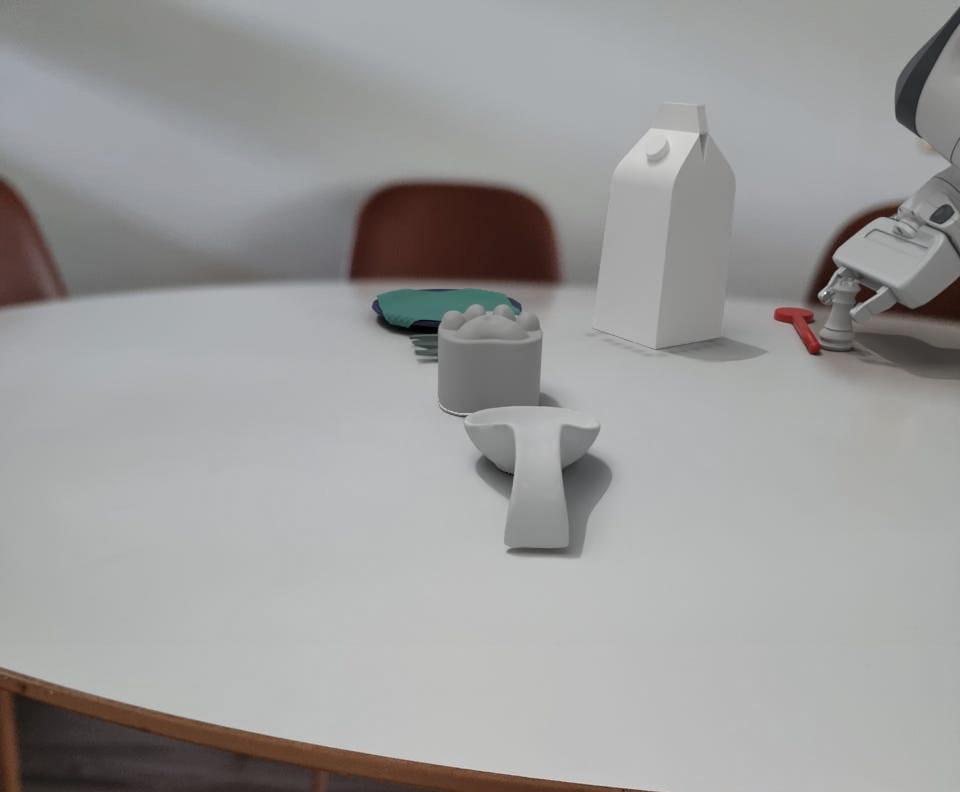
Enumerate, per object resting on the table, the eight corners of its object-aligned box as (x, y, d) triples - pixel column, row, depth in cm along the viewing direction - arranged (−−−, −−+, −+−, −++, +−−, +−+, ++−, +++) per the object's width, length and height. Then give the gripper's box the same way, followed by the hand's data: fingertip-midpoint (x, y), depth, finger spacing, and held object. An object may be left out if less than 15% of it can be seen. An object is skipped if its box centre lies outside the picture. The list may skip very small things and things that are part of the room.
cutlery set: (506, 301, 139) (506, 284, 138) (554, 358, 114) (556, 339, 113) (366, 303, 136) (366, 286, 135) (385, 363, 111) (384, 342, 110)
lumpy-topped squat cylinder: (437, 415, 96) (437, 326, 91) (438, 377, 107) (438, 295, 102) (543, 417, 96) (548, 327, 92) (532, 378, 107) (536, 297, 103)
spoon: (771, 313, 137) (773, 303, 136) (809, 315, 136) (811, 305, 135) (792, 353, 119) (794, 342, 118) (836, 356, 118) (838, 344, 117)
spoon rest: (464, 438, 90) (465, 361, 87) (590, 441, 91) (596, 364, 87) (459, 551, 70) (460, 457, 67) (621, 555, 70) (631, 461, 67)
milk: (721, 337, 125) (756, 106, 111) (654, 349, 119) (683, 107, 105) (656, 317, 133) (681, 100, 119) (591, 327, 127) (610, 101, 114)
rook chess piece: (810, 342, 124) (823, 276, 119) (844, 342, 124) (858, 276, 120) (824, 351, 120) (838, 283, 116) (859, 351, 120) (874, 284, 116)
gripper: (881, 193, 123) (792, 273, 127) (966, 218, 106) (859, 310, 110) (905, 231, 126) (817, 309, 130) (992, 261, 108) (887, 350, 113)
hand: (837, 310), depth 120 cm, fingers open, 8 cm apart
